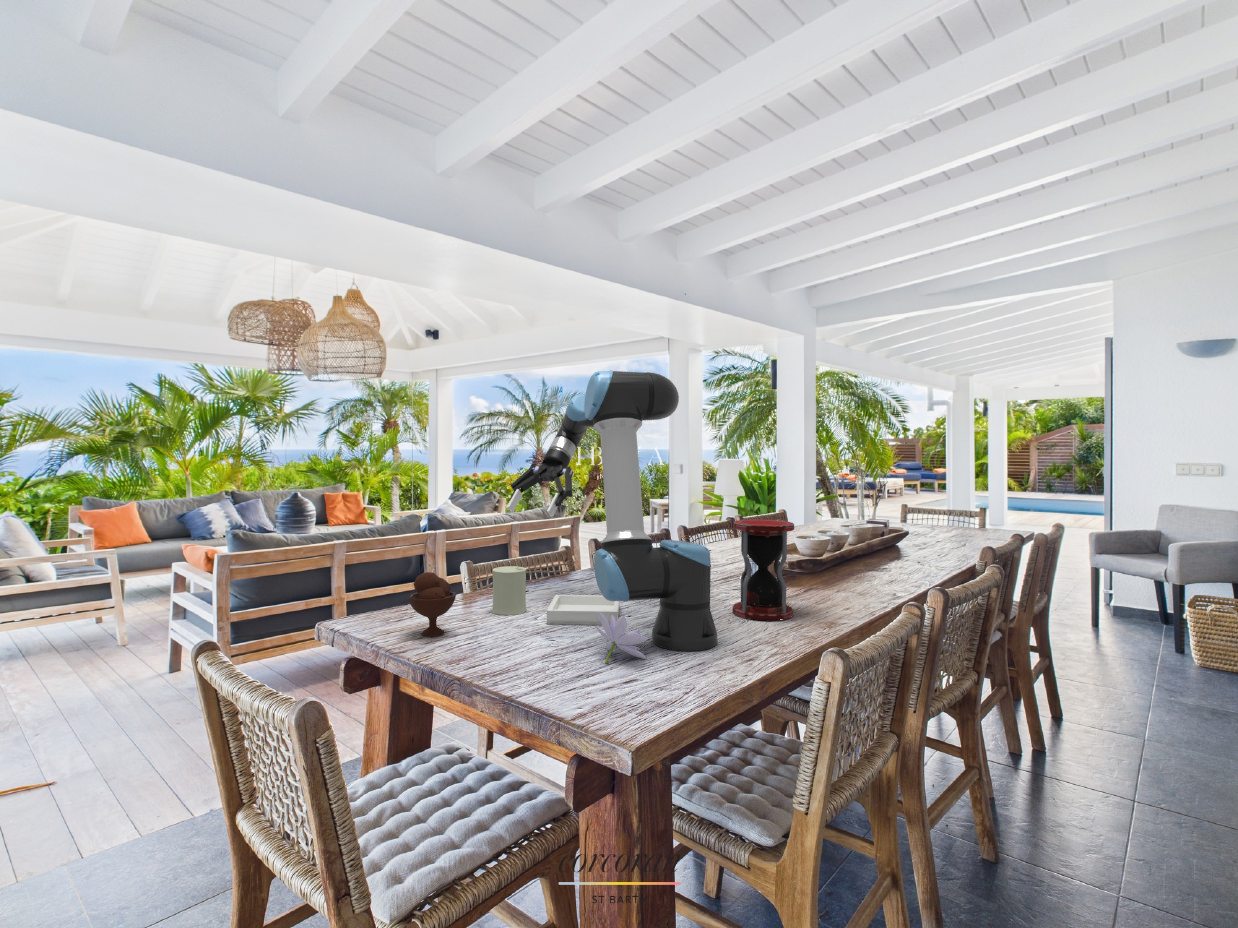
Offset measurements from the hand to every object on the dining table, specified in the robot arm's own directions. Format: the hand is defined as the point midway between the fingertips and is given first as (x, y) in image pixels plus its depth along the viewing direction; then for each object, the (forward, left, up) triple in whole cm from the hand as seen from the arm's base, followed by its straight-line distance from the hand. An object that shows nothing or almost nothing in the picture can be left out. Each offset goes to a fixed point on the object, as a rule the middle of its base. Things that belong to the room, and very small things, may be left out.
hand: (529, 511), depth 188 cm
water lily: (-46, -28, -27) cm, 60 cm away
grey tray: (-11, -17, -27) cm, 33 cm away
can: (-7, +4, -27) cm, 28 cm away
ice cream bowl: (-30, +18, -27) cm, 44 cm away
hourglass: (-6, -65, -27) cm, 70 cm away
